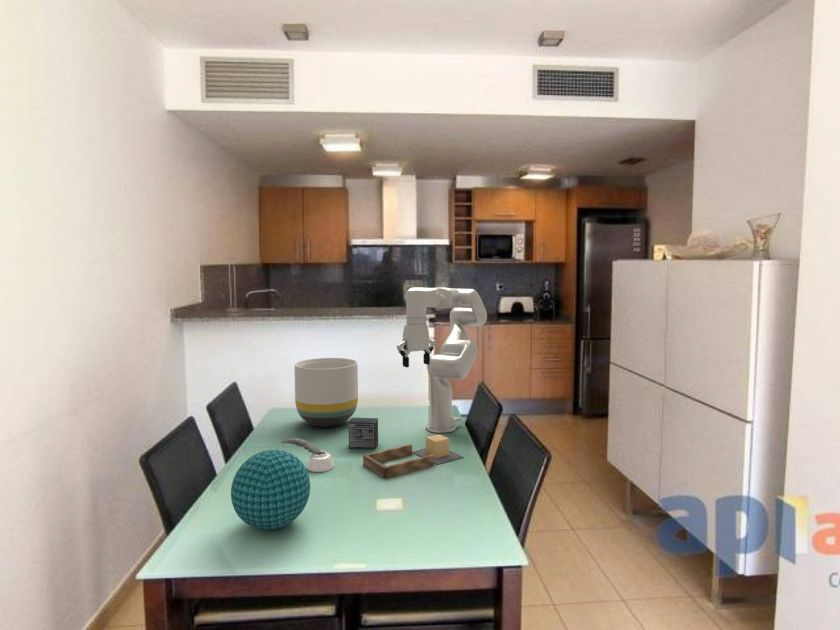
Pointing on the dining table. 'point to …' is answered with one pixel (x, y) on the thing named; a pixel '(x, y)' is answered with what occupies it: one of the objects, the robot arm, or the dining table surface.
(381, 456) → the walnut cubby
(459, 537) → the dining table surface
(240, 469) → the decorative ball
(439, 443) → the ochre cube
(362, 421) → the small box
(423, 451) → the charcoal mat
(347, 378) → the planter
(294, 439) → the inkwell
